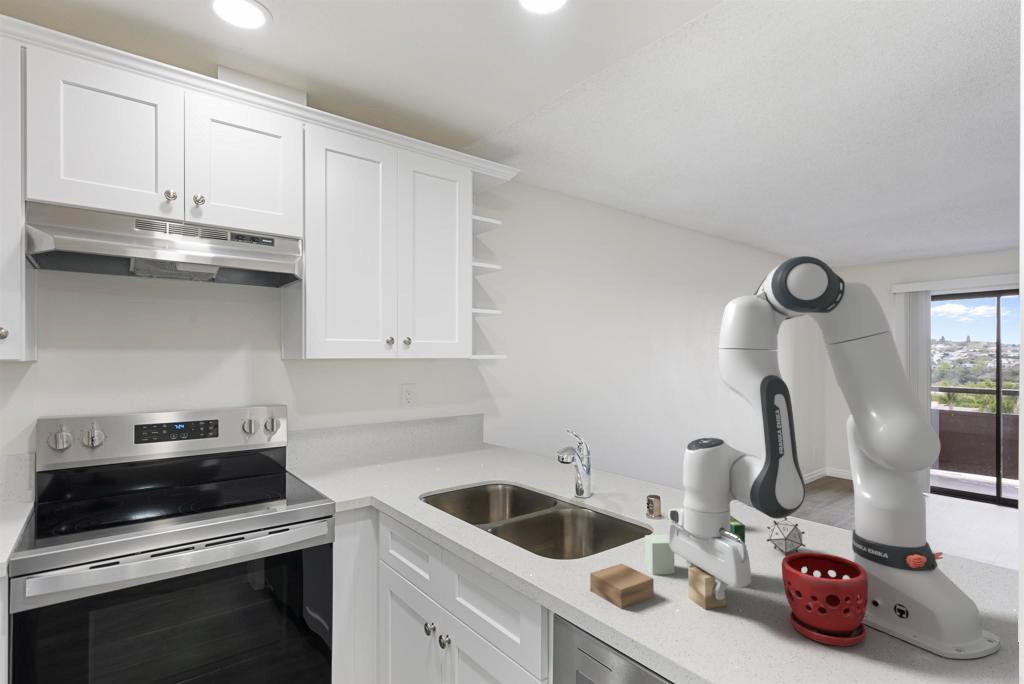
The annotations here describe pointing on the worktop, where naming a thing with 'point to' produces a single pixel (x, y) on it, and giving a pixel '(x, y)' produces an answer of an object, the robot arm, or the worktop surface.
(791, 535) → the game die
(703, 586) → the oak block
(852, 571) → the plant pot
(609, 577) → the walnut block
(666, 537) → the sage block
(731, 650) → the worktop surface
